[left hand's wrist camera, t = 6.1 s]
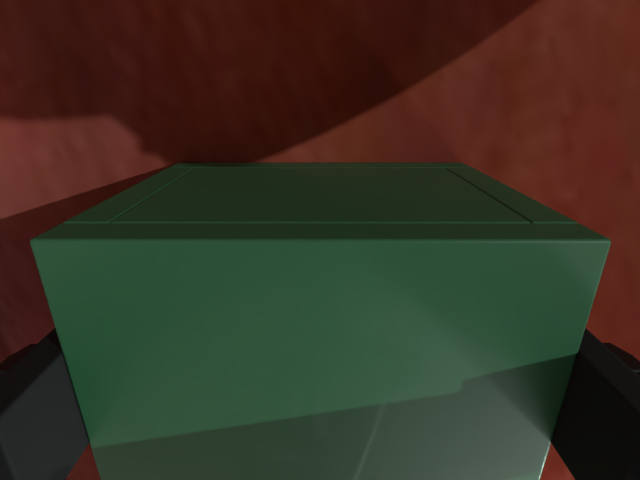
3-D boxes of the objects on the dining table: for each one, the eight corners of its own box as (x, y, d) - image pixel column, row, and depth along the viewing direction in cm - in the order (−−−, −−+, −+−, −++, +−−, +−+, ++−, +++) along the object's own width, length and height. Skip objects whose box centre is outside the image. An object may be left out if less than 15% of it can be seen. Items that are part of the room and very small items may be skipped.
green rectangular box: (416, 503, 23) (467, 722, 15) (223, 503, 23) (172, 722, 15) (463, 162, 15) (613, 239, 7) (176, 162, 15) (26, 239, 7)
